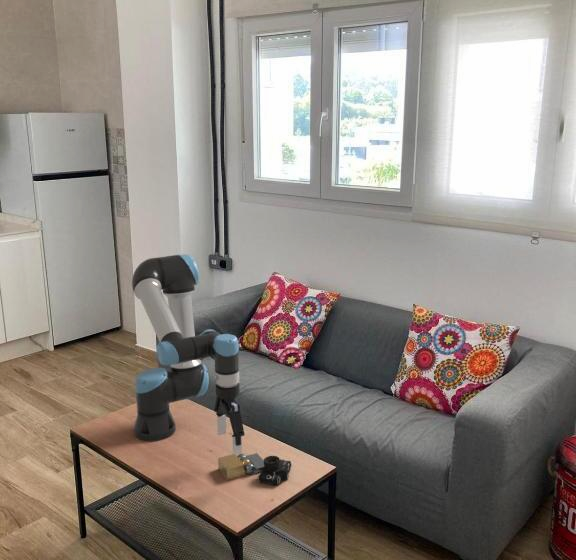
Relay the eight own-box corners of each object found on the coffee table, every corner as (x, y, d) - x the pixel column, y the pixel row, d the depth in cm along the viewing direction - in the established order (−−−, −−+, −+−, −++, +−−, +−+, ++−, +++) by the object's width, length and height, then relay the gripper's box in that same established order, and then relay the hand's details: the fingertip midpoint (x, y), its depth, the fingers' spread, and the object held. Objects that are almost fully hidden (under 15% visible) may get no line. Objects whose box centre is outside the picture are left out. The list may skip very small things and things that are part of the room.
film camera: (271, 446, 216) (295, 447, 210) (277, 467, 217) (301, 468, 211) (247, 466, 205) (271, 467, 199) (254, 487, 206) (278, 489, 200)
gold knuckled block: (245, 461, 217) (245, 450, 216) (255, 472, 210) (254, 461, 209) (218, 468, 213) (217, 458, 212) (227, 480, 206) (226, 469, 205)
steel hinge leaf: (257, 457, 219) (256, 449, 219) (268, 469, 211) (268, 461, 211) (236, 462, 216) (236, 454, 216) (247, 475, 208) (247, 467, 208)
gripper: (203, 371, 212) (205, 429, 218) (230, 401, 190) (233, 464, 196) (224, 366, 215) (226, 424, 221) (254, 396, 194) (255, 458, 199)
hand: (229, 443), depth 208 cm, fingers open, 13 cm apart
